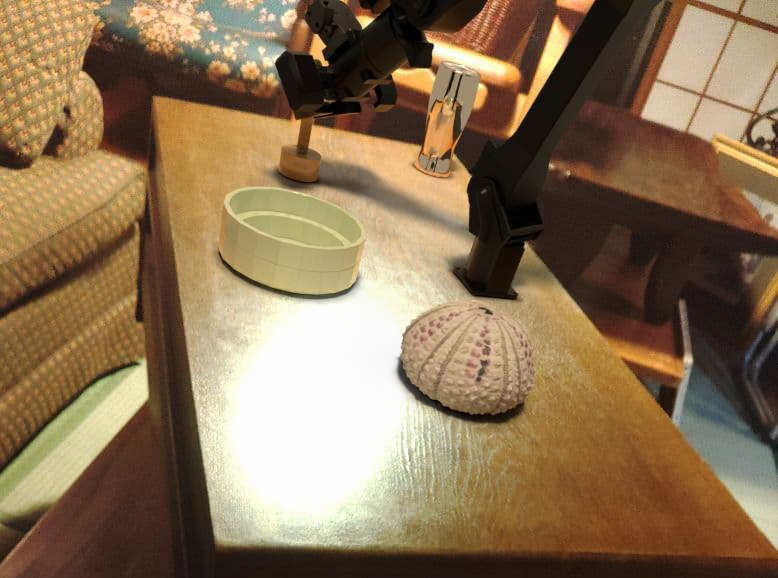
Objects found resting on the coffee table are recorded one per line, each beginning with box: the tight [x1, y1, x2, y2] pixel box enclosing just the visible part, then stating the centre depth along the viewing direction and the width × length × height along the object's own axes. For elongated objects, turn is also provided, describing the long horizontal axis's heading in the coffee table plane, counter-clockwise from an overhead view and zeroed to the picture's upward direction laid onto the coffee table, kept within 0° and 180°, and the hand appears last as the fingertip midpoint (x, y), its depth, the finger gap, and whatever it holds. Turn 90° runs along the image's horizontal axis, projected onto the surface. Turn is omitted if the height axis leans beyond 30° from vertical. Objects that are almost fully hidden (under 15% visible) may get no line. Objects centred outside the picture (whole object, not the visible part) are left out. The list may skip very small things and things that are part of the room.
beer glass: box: [414, 60, 482, 178], centre depth 118 cm, size 7×7×15 cm
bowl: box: [217, 186, 367, 295], centre depth 80 cm, size 15×15×6 cm
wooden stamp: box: [278, 58, 323, 183], centre depth 100 cm, size 6×6×14 cm
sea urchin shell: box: [399, 299, 538, 416], centre depth 69 cm, size 13×14×8 cm
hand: (300, 116), depth 101 cm, fingers closed on wooden stamp
